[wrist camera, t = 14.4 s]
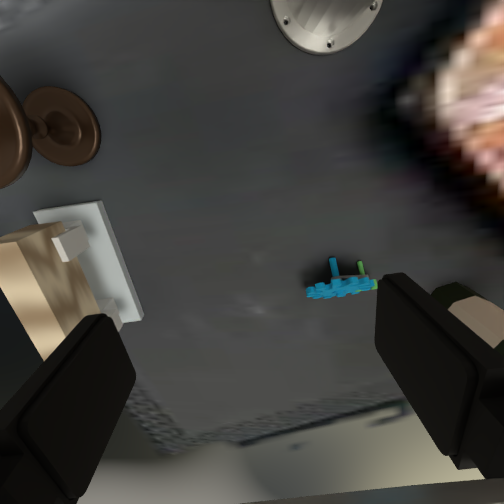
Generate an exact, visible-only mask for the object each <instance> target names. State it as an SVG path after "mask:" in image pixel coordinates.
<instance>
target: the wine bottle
mask: <svg viewBox="0 0 504 504" xmlns="http://www.w3.org/2000/svg"><path fill="white" fill-rule="evenodd" d="M431 296H432V297H433V298H434V299H436V300H437V301H438V302H439V303H440V304H442V305H443V306H444V307H445V308H446V309H448V310H449V311H450V312H451V313H452V314H453V315H455V316H456V317H457V318H458V319H459V320H461V321H462V322H463V323H464V324H465V325H467V326H468V327H469V328H470V329H471V330H472V331H474V332H475V333H476V334H477V335H478V336H480V337H481V338H482V339H483V340H484V341H486V342H487V343H488V344H489V345H490V346H491V347H493V348H494V349H495V350H496V351H497V352H499V353H500V354H501V355H502V356H503V357H504V311H503V310H502V309H500V308H499V307H497V306H496V305H494V304H493V303H491V302H490V301H488V300H487V299H485V298H484V297H482V296H481V295H479V294H478V293H476V292H475V291H473V290H472V289H470V288H468V287H466V286H463V285H461V284H459V283H456V282H454V283H451V284H448V285H445V286H442V287H439V288H436V289H435V290H434V292H433V293H432V294H431Z"/></svg>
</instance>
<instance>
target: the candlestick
mask: <svg viewBox="0 0 504 504" xmlns="http://www.w3.org/2000/svg"><path fill="white" fill-rule="evenodd" d="M100 144H101V130H100V125H99V123H98V120H97V118H96V116H95V114H94V112H93V111H92V109H91V108H90V107H89V105H88V104H87V103H86V102H85V101H84V100H83V99H82V98H80V97H79V96H77V95H76V94H74V93H72V92H70V91H68V90H65V89H62V88H58V87H52V86H45V87H40V88H38V89H36V90H34V91H32V92H31V93H30V94H29V95H28V96H27V97H26V99H25V100H24V103H23V106H22V105H21V103H20V101H19V100H18V98H17V97H16V95H15V94H14V92H13V90H12V89H11V88H10V86H9V85H8V84H7V83H6V82H5V81H4V80H3V78H2V77H1V76H0V189H2V188H5V187H7V186H9V185H12V184H14V183H15V182H16V181H17V180H18V179H20V178H21V177H22V176H23V174H24V173H25V171H26V170H27V168H28V166H29V163H30V160H31V156H32V147H34V148H35V149H36V150H37V152H38V153H40V154H41V155H42V156H43V157H44V158H46V159H48V160H49V161H51V162H53V163H56V164H58V165H63V166H77V165H82V164H85V163H87V162H89V161H90V160H92V159H93V158H94V157H95V155H96V154H97V152H98V150H99V148H100Z"/></svg>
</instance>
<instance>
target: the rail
mask: <svg viewBox="0 0 504 504" xmlns="http://www.w3.org/2000/svg"><path fill="white" fill-rule="evenodd" d="M63 232H65V228H64V226H63V224H62V221H59V222H51V223H44V224H36V225H29V226H27V227H24V228H22V229H19V230H17V231H15V232H12V233H10V234H7V235H5V236H2V237H0V287H1V289H2V290H3V292H4V294H5V296H6V297H7V299H8V301H9V302H10V304H11V306H12V307H13V309H14V311H15V312H16V314H17V316H18V318H19V319H20V321H21V323H22V324H23V326H24V328H25V330H26V331H27V333H28V335H29V336H30V338H31V340H32V341H33V343H34V345H35V347H36V348H37V350H38V352H39V353H40V355H41V357H42V358H43V360H44V361H45V360H46V359H47V358H48V356H49V355H50V354H51V353H52V352H53V351H54V350H55V349H56V348H57V346H58V345H59V344H60V343H61V342H62V341H63V340H64V339H65V338H66V336H67V335H68V334H69V333H70V332H71V331H72V330H73V329H74V328H75V326H76V325H77V324H78V323H79V322H80V321H81V320H82V319H83V318H84V317H85V316H87V315H93V314H100V313H101V312H100V309H99V307H98V305H97V302H96V300H95V298H94V296H93V293H92V291H91V289H90V286H89V284H88V282H87V279H86V277H85V275H84V272H83V270H82V268H81V265H80V263H79V261H78V258H77V256H76V257H75V258H73V259H72V260H70V261H68V262H62V260H61V258H60V255H59V253H58V251H57V249H56V247H55V245H54V243H53V241H52V239H51V238H53V237H55V236H57V235H59V234H61V233H63Z"/></svg>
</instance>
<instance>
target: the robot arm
mask: <svg viewBox="0 0 504 504" xmlns="http://www.w3.org/2000/svg"><path fill="white" fill-rule="evenodd" d="M382 2H383V0H270V3H271V7H272V11H273V15H274V17H275V20H276V22H277V24H278V27H279V28H280V30H281V31H282V33H283V34H284V36H285V37H286V38H287V39H288V40H289V41H290V42H291V43H292V44H293V45H294V46H296V47H297V48H299V49H300V50H302V51H304V52H307V53H310V54H315V55H328V54H333V53H336V52H339V51H341V50H343V49H345V48H347V47H348V46H350V45H351V44H353V43H354V42H355V41H356V40H357V39H359V38H360V36H361V35H362V34H363V33H364V32H365V31H366V30H367V29H368V28H369V26H370V25H371V23H372V22H373V21H374V19H375V17H376V15H377V13H378V12H379V10H380V7H381V5H382ZM370 7H371V8H372V11H371V10H370ZM284 21H287V22H288V25H284ZM327 44H330V48H328V47H327ZM375 346H376V349H377V351H378V353H379V355H380V356H381V358H382V360H383V361H384V363H385V364H386V366H387V368H388V369H389V371H390V372H391V374H392V376H393V377H394V379H395V380H396V382H397V384H398V385H399V387H400V388H401V390H402V392H403V393H404V395H405V396H406V398H407V400H408V401H409V403H410V404H411V406H412V408H413V409H414V411H415V412H416V414H417V416H418V417H419V419H420V420H421V422H422V423H423V425H424V427H425V428H426V430H427V431H428V433H429V435H430V436H431V438H432V440H433V441H434V443H435V444H436V446H437V447H438V449H439V450H440V452H441V453H442V454H443V455H445V456H449V457H450V458H451V460H452V461H453V463H454V464H455V466H456V468H457V469H458V470H461V469H470V468H478V469H479V471H480V472H481V474H482V475H483V476H484V478H485V479H482V480H470V481H459V482H447V483H434V484H423V485H411V486H402V487H393V488H383V489H373V490H365V491H354V492H345V493H335V494H325V495H316V496H306V497H297V498H287V499H278V500H269V501H260V502H251V503H242V504H504V357H503V356H502V355H501V354H500V353H499V352H497V351H496V350H495V349H494V348H493V347H491V346H490V345H489V344H488V343H487V342H486V341H484V340H483V339H482V338H481V337H480V336H478V335H477V334H476V333H475V332H474V331H472V330H471V329H470V328H469V327H468V326H467V325H465V324H464V323H463V322H462V321H461V320H459V319H458V318H457V317H456V316H455V315H453V314H452V313H451V312H450V311H449V310H448V309H446V308H445V307H444V306H443V305H442V304H440V303H439V302H438V301H437V300H436V299H434V298H433V297H432V296H431V295H430V294H428V293H427V292H426V291H425V290H424V289H423V288H421V287H420V286H419V285H418V284H417V283H415V282H414V281H413V280H412V279H411V278H409V277H408V276H407V275H406V274H405V273H394V274H386V275H384V276H383V278H382V279H381V280H379V281H378V288H377V306H376V324H375ZM135 380H136V372H135V369H134V367H133V365H132V363H131V360H130V358H129V356H128V353H127V351H126V349H125V346H124V344H123V342H122V340H121V337H120V335H119V333H118V330H117V328H116V326H115V323H114V321H113V319H112V318H111V317H108V316H107V315H106V314H104V313H100V314H93V315H87V316H85V317H84V318H83V319H82V320H81V321H80V322H79V323H78V324H77V325H76V326H75V328H74V329H73V330H72V331H71V332H70V333H69V334H68V335H67V336H66V338H65V339H64V340H63V341H62V342H61V343H60V344H59V345H58V346H57V348H56V349H55V350H54V351H53V352H52V353H51V354H50V355H49V356H48V358H47V359H46V360H45V361H44V362H43V363H42V364H41V365H40V367H39V368H38V369H37V370H36V371H35V372H34V373H33V375H31V377H30V378H29V379H28V380H27V381H26V382H25V383H24V384H23V385H22V387H21V388H20V389H19V390H18V391H17V392H16V393H15V395H13V397H12V398H11V399H10V400H9V401H8V402H7V403H6V404H5V405H4V407H3V408H2V409H1V410H0V504H76V503H77V501H78V499H79V497H81V496H83V495H84V493H85V492H86V490H87V488H88V486H89V484H90V482H91V479H92V477H93V475H94V473H95V470H96V468H97V466H98V464H99V461H100V459H101V457H102V454H103V453H104V450H105V448H106V446H107V444H108V441H109V439H110V437H111V435H112V433H113V430H114V428H115V426H116V424H117V421H118V419H119V417H120V415H121V412H122V410H123V408H124V406H125V404H126V401H127V399H128V397H129V395H130V392H131V390H132V388H133V386H134V383H135Z"/></svg>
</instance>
